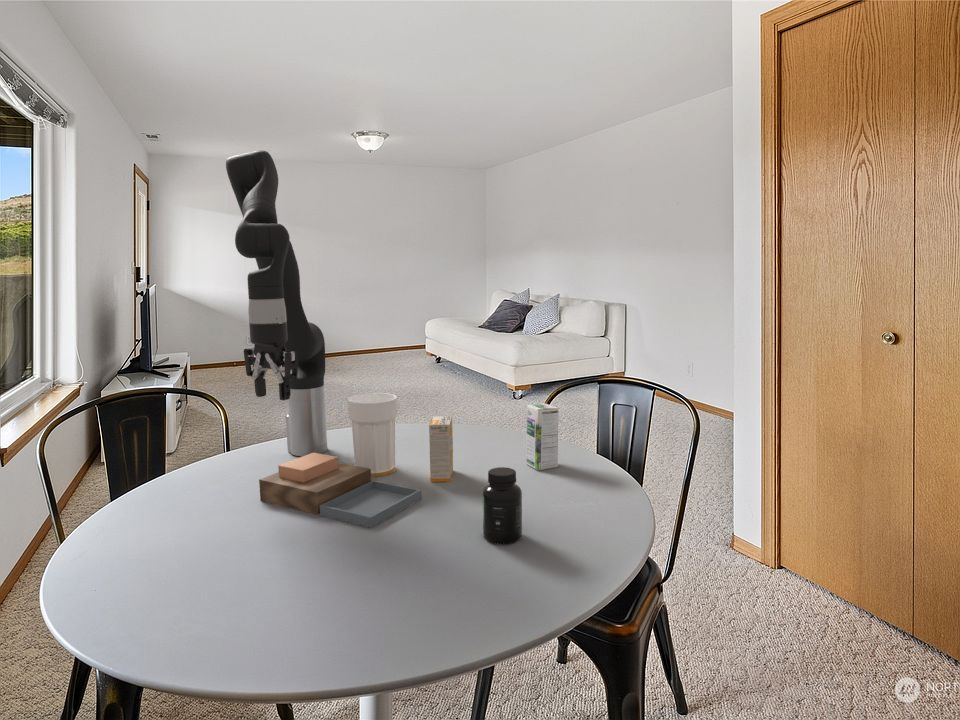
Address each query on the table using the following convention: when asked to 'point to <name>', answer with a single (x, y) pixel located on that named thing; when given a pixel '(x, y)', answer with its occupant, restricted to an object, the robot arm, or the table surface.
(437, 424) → the supplement box
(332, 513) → the slate tray
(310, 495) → the walnut platform
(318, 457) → the terracotta tile
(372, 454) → the cup
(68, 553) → the table surface
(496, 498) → the supplement bottle
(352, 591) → the table surface
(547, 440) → the syrup box
